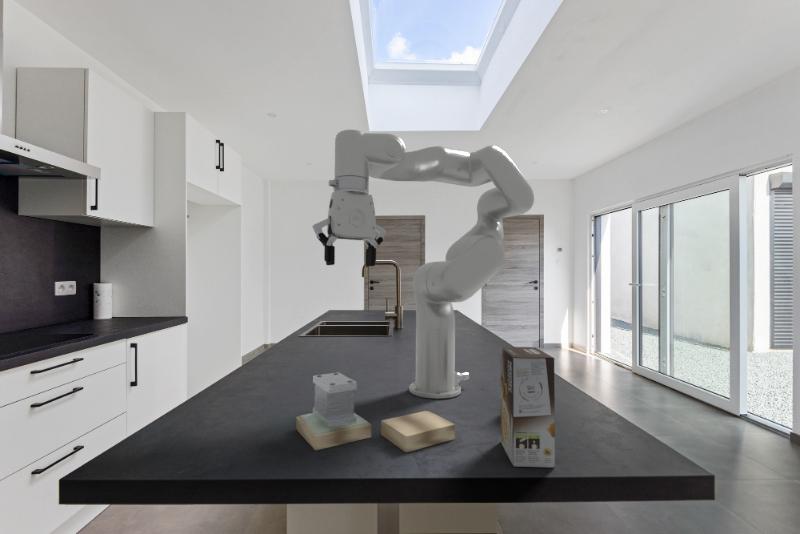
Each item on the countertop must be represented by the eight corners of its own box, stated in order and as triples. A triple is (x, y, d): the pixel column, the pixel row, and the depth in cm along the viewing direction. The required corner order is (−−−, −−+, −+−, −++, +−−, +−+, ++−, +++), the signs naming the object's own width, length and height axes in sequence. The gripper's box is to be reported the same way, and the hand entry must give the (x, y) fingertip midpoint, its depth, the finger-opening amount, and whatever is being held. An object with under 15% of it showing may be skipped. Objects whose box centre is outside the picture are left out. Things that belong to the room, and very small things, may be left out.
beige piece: (427, 423, 72) (427, 410, 72) (454, 439, 66) (455, 424, 66) (381, 434, 67) (381, 420, 67) (406, 452, 60) (406, 436, 60)
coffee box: (557, 468, 56) (556, 357, 56) (512, 467, 56) (512, 357, 56) (536, 441, 65) (536, 346, 65) (498, 441, 65) (498, 346, 66)
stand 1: (347, 418, 75) (347, 406, 75) (371, 437, 66) (371, 422, 66) (296, 429, 69) (296, 415, 69) (315, 450, 61) (315, 434, 61)
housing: (356, 423, 66) (356, 381, 66) (328, 429, 63) (329, 385, 63) (338, 409, 73) (338, 372, 73) (312, 414, 70) (313, 375, 70)
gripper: (320, 179, 77) (319, 264, 76) (393, 190, 86) (393, 266, 86) (308, 186, 83) (306, 265, 83) (377, 196, 93) (377, 266, 92)
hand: (350, 265), depth 84 cm, fingers open, 9 cm apart
